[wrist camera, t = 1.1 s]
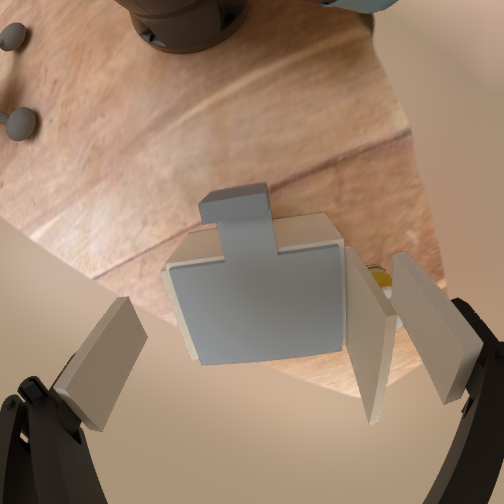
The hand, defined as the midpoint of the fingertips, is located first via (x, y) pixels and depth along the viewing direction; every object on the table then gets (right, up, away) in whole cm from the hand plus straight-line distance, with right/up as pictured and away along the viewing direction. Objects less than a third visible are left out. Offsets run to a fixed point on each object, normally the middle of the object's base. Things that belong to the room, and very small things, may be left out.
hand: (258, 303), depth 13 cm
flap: (0, -1, +16) cm, 16 cm away
